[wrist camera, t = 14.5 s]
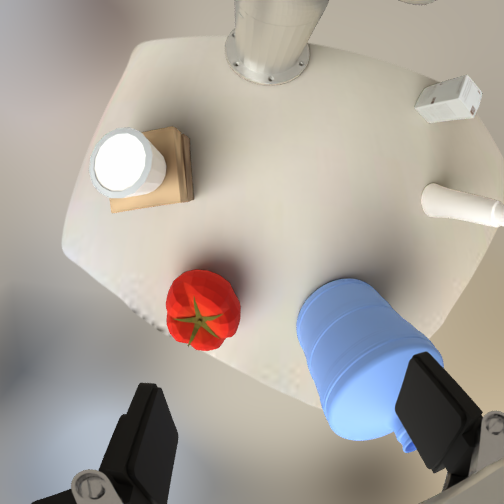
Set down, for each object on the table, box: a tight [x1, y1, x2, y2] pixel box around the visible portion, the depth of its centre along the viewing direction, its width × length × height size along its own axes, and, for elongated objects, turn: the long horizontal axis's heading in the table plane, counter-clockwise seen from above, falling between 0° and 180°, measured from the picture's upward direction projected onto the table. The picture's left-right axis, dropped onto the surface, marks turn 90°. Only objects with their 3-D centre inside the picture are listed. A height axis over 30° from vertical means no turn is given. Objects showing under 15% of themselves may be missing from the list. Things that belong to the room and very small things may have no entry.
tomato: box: [166, 269, 241, 351], centre depth 39 cm, size 11×12×9 cm
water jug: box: [296, 279, 444, 453], centre depth 32 cm, size 16×16×28 cm
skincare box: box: [414, 75, 483, 123], centre depth 31 cm, size 6×4×12 cm
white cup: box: [89, 127, 166, 198], centre depth 26 cm, size 7×7×7 cm
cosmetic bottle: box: [421, 183, 504, 227], centre depth 30 cm, size 6×6×22 cm
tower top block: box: [110, 126, 188, 213], centre depth 32 cm, size 9×9×4 cm
